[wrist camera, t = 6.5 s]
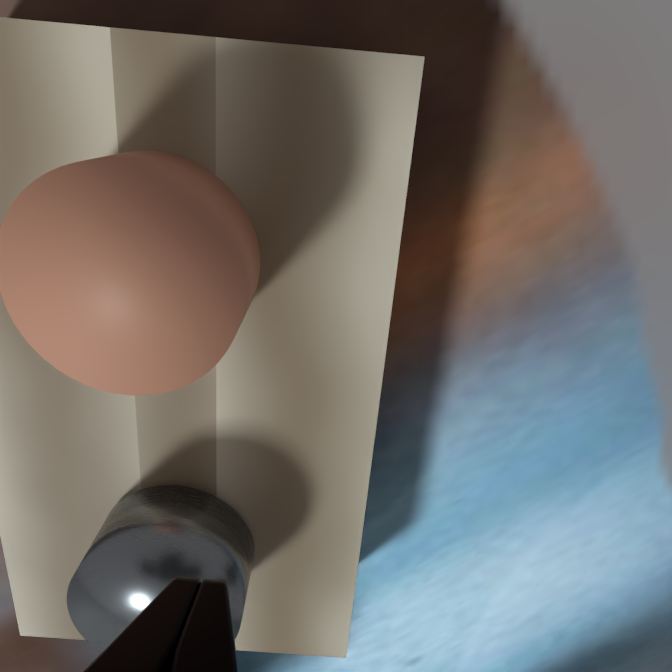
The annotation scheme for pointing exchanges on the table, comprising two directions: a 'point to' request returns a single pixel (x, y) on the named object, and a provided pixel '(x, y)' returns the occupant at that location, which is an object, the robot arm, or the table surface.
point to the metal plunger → (157, 558)
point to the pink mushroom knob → (129, 270)
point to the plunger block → (255, 330)
